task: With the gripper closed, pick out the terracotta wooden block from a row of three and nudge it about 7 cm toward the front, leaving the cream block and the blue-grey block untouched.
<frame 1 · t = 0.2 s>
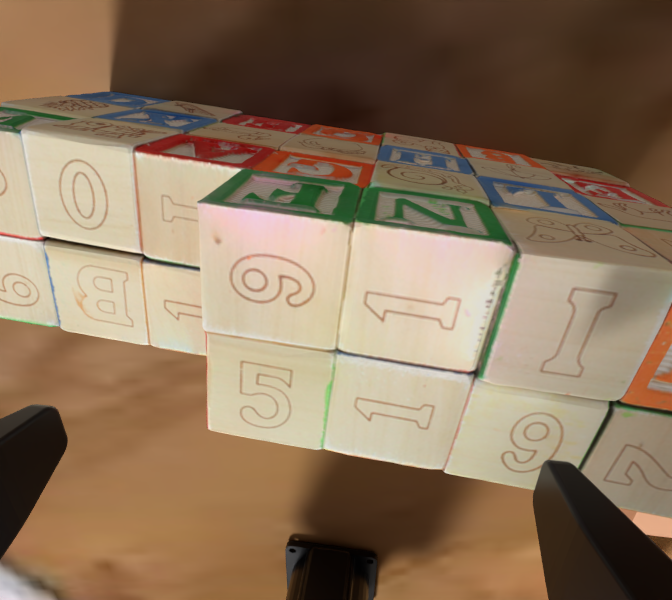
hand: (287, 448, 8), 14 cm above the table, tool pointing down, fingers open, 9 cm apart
terracotta block: (647, 435, 24), on the table
stack of blocks: (339, 196, 21), on the table
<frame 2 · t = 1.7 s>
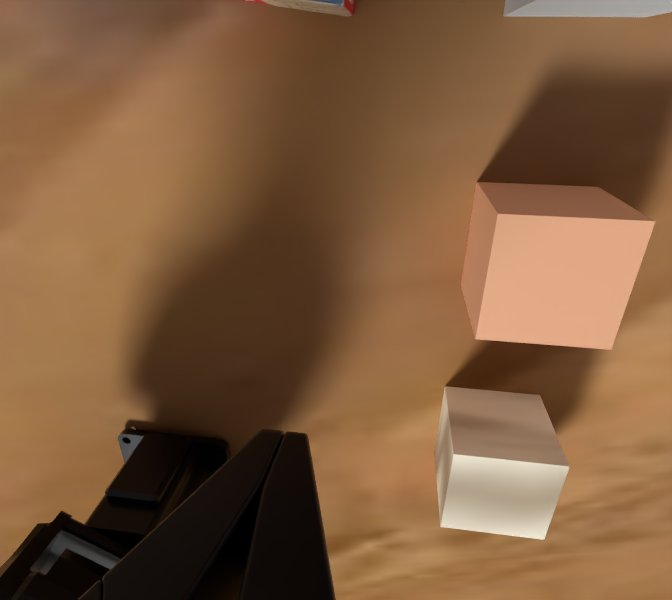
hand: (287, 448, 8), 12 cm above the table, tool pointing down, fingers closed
terracotta block: (524, 239, 19), on the table
cream block: (484, 424, 23), on the table
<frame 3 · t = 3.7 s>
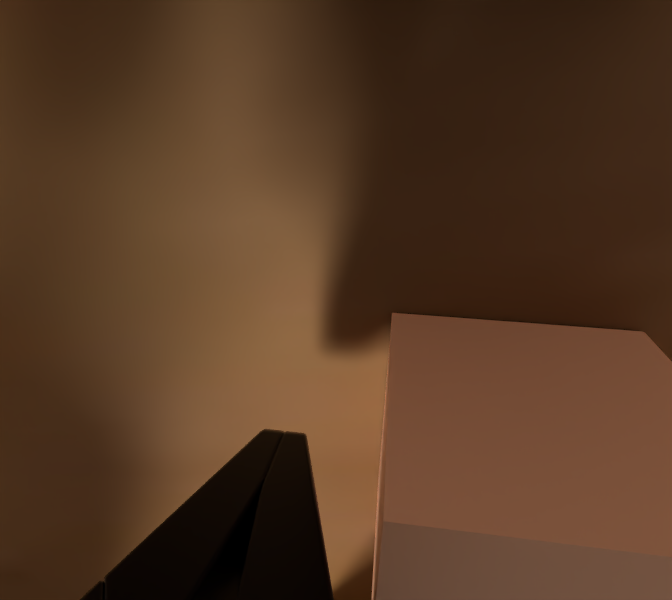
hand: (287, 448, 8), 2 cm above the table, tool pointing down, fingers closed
terracotta block: (493, 416, 9), on the table, touching gripper
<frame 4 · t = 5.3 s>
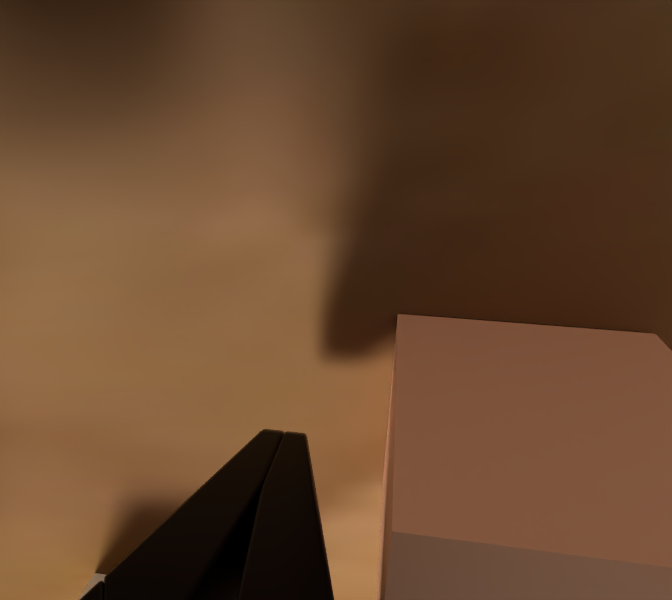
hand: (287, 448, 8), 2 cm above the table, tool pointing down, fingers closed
terracotta block: (500, 418, 9), on the table, touching gripper
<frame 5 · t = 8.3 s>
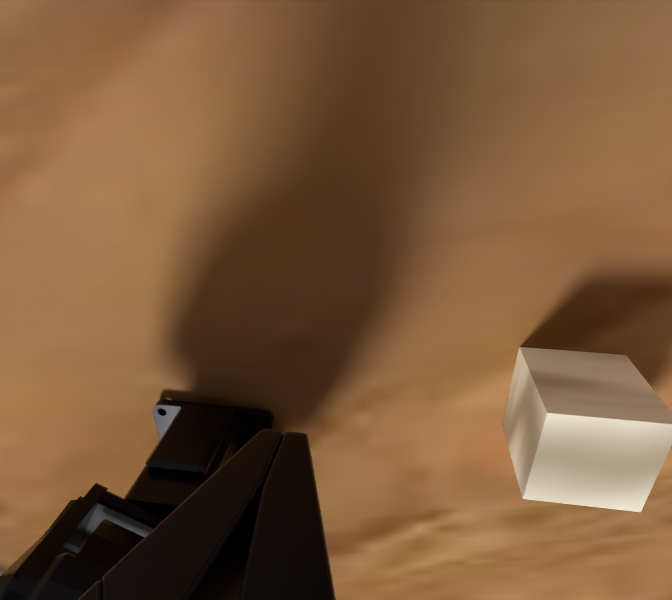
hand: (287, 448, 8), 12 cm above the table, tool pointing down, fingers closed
cream block: (559, 390, 21), on the table
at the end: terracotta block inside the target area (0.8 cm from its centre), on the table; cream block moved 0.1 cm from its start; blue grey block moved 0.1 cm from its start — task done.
